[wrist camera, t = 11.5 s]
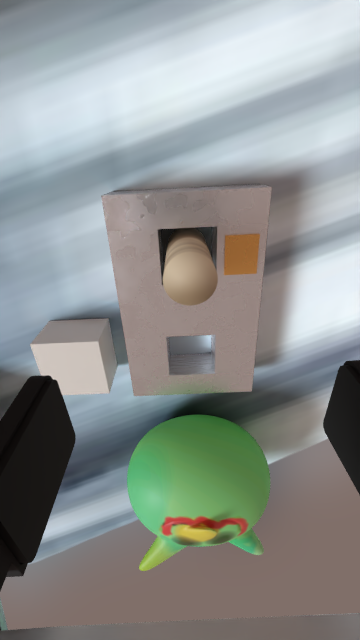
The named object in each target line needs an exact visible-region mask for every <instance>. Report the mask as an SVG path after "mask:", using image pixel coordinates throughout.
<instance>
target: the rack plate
mask: <svg viewBox="0 0 360 640" xmlns="http://www.w3.org/2000/svg"><path fill="white" fill-rule="evenodd" d="M271 191H272V187H270V186H265V185H261V184H253V185H234V186H214V187H194V188H175V189H155V190H135V191H116V192H109V193H107V194H104V195H102V196H101V197H102V203H103V209H104V215H105V221H106V227H107V234H108V240H109V246H110V252H111V258H112V264H113V270H114V276H115V283H116V289H117V295H118V301H119V307H120V313H121V319H122V325H123V331H124V338H125V344H126V350H127V356H128V362H129V368H130V374H131V380H132V387H133V393H134V396H147V395H173V394H198V393H224V392H249V391H252V384H253V374H254V364H255V354H256V344H257V333H258V323H259V313H260V303H261V293H262V283H263V272H264V262H265V252H266V242H267V232H268V221H269V211H270V201H271ZM195 227H212V260H213V263H214V266H215V268H216V271H217V275H218V283H217V287H216V290H215V291H214V293H213V294H212V296H211V297H210V298H209V299H208V300H206V301H205V302H203V303H201V304H198V305H192V306H188V305H182V304H179V303H177V302H175V301H174V300H172V299H171V298H170V297H169V296H168V294H167V293H166V291H165V289H164V286H163V274H164V267H163V254H162V241H161V229H174V228H195ZM195 335H211V353H205V354H181V355H170V346H169V337H172V336H195Z"/></svg>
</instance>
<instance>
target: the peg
mask: <svg viewBox="0 0 360 640" xmlns="http://www.w3.org/2000/svg"><path fill="white" fill-rule="evenodd" d="M217 283H218V275H217V271H216V268H215V266H214V263H213V260H212V257H211V255H210V252H209V249H208V247H207V244H206V241H205V238H204V236H203V235H202V233H201V232H200V231H199V230H197V229H196V228H178V229H176V230H175V231H174V232H173V233H172V234H171V235H170V237H169V239H168V243H167V251H166V259H165V266H164V274H163V286H164V289H165V291H166V293H167V294H168V296H169V297H170V298H171V299H172V300H174V301H175V302H177V303H179V304H182V305H188V306H192V305H198V304H201V303H203V302H205V301H206V300H208V299H209V298H210V297H211V296H212V294H213V293H214V291H215V290H216V287H217Z"/></svg>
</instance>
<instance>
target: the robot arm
mask: <svg viewBox="0 0 360 640" xmlns="http://www.w3.org/2000/svg"><path fill="white" fill-rule="evenodd" d="M323 426H324V430H325V433H326V435H327V437H328V438H329V440H330V442H331V444H332V446H333V447H334V449H335V451H336V453H337V455H338V457H339V458H340V460H341V462H342V464H343V465H344V467H345V469H346V471H347V473H348V475H349V476H350V478H351V480H352V482H353V483H354V485H355V487H356V489H357V491H358V492H359V494H360V360H355V361H346V362H345V363H344V365H343V366H340V368H339V370H338V374H337V377H336V380H335V384H334V387H333V391H332V394H331V398H330V401H329V404H328V408H327V411H326V415H325V418H324V422H323ZM74 444H75V432H74V429H73V426H72V423H71V420H70V417H69V414H68V411H67V408H66V405H65V402H64V399H63V396H62V394H61V391H60V388H59V385H58V382H57V380H55V379H54V380H53V379H52V377H51V376H49V375H45V376H31V377H30V378H29V379H28V380H27V381H26V383H25V384H24V386H23V387H22V389H21V390H20V392H19V394H18V395H17V397H16V398H15V400H14V401H13V403H12V404H11V406H10V407H9V409H8V410H7V412H6V413H5V415H4V416H3V418H2V419H1V421H0V590H1V588H2V585H3V583H4V580H5V578H6V577H14V576H23V575H24V572H25V569H26V567H27V564H28V563H30V562H32V561H33V560H34V558H35V556H36V553H37V551H38V548H39V545H40V542H41V539H42V536H43V533H44V531H45V528H46V525H47V522H48V519H49V516H50V513H51V510H52V508H53V505H54V502H55V499H56V496H57V493H58V490H59V487H60V485H61V482H62V479H63V476H64V473H65V470H66V467H67V464H68V462H69V459H70V456H71V453H72V450H73V447H74ZM0 640H360V613H356V614H330V615H304V616H280V617H257V618H233V619H210V620H188V621H165V622H144V623H124V624H105V625H104V624H103V625H82V626H63V627H46V628H32V629H18V630H8V629H7V625H6V621H5V616H4V612H3V608H2V604H1V599H0Z"/></svg>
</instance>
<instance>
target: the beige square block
mask: <svg viewBox="0 0 360 640" xmlns="http://www.w3.org/2000/svg"><path fill="white" fill-rule="evenodd" d="M30 345H31V348H32V351H33V354H34V357H35V359H36V362H37V365H38V368H39V371H40V373H41V376H45V375H49V376H51V377H52V379H53V380H54V379H55V380H57V382H58V385H59V388H60V391H61V394H62V395H77V394H103V393H110V389H111V386H112V383H113V379H114V376H115V373H116V370H117V360H116V355H115V350H114V345H113V339H112V334H111V329H110V323H109V318H105V319H82V320H59V321H49V322H48V323H47V325H46V326H45V327H44V328H43V329H42V331H41V332H40V333H39V334H38V335H37V337H36V338H35V339H34V340H33V342H32V343H31V344H30Z"/></svg>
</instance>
